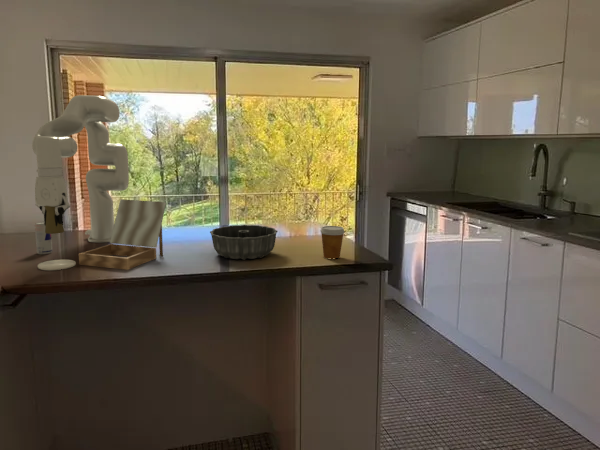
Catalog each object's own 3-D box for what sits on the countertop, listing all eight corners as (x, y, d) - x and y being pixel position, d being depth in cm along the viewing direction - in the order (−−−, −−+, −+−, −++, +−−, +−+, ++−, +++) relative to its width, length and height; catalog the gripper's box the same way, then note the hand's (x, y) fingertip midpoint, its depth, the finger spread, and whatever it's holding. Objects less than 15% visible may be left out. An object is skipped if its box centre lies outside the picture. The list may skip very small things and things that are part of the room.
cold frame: (79, 264, 174) (75, 207, 170) (123, 249, 198) (121, 199, 194) (127, 269, 168) (125, 210, 164) (167, 253, 192) (166, 201, 188)
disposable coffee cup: (346, 256, 193) (348, 227, 191) (338, 261, 184) (339, 230, 182) (324, 253, 197) (325, 224, 195) (315, 258, 188) (316, 228, 186)
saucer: (29, 268, 167) (29, 266, 167) (56, 260, 179) (56, 258, 178) (57, 271, 164) (57, 269, 164) (83, 263, 175) (83, 261, 175)
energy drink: (55, 252, 191) (53, 222, 189) (44, 255, 186) (42, 224, 184) (45, 250, 193) (42, 221, 191) (33, 253, 188) (31, 223, 186)
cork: (49, 230, 172) (47, 199, 170) (67, 230, 172) (65, 199, 170) (41, 233, 166) (39, 201, 164) (60, 233, 166) (58, 202, 164)
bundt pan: (222, 266, 175) (222, 239, 173) (202, 251, 198) (201, 227, 196) (288, 259, 187) (288, 234, 185) (261, 245, 210) (261, 223, 208)
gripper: (21, 172, 164) (26, 225, 167) (61, 174, 160) (65, 229, 163) (39, 171, 171) (43, 222, 175) (78, 173, 167) (81, 225, 170)
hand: (54, 225), depth 169 cm, fingers closed on cork, 3 cm apart
